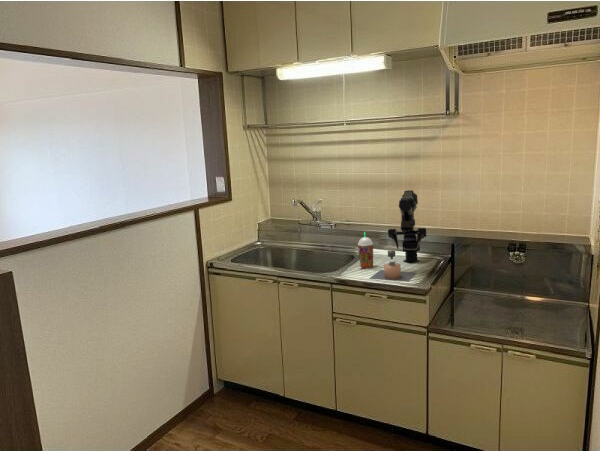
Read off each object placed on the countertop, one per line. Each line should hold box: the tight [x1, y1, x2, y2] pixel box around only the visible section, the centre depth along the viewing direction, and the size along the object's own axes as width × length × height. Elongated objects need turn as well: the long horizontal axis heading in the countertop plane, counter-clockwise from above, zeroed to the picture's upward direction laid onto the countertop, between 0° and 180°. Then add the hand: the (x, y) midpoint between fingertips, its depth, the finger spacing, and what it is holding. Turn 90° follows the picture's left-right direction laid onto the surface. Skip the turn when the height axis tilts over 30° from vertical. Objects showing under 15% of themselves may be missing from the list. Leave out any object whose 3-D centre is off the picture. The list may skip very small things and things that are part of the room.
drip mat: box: [368, 269, 419, 282], centre depth 225 cm, size 20×16×1 cm
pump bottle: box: [383, 261, 402, 279], centre depth 222 cm, size 8×8×7 cm
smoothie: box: [357, 231, 374, 270], centre depth 244 cm, size 8×8×20 cm
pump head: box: [387, 249, 396, 260], centre depth 220 cm, size 6×4×4 cm, turn 151°
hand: (407, 248), depth 225 cm, fingers open, 9 cm apart
